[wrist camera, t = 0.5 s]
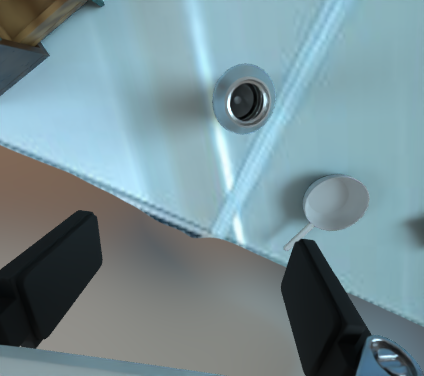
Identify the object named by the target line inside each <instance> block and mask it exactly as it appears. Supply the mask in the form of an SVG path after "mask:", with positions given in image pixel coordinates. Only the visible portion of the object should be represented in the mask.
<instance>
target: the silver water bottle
mask: <svg viewBox="0 0 424 376" xmlns="http://www.w3.org/2000/svg"><path fill="white" fill-rule="evenodd" d="M275 101H276V93H275V87H274V84H273V82H272V80H271V78H270V77H269V75H268V74H267V73H266V72H265V71H264V70H263V69H261V68H260V67H258V66H256V65H253V64H239V65H236V66H234V67H231V68H230V69H228V70H227V71H226V72H225V73H224V74H223V75H222V76H221V77H220V79H219V80H218V82H217V84H216V86H215V88H214V92H213V100H212V103H213V110H214V114H215V116H216V118H217V120H218V122H219V123H220V124H221V125H222V126H223V127H224V128H225V129H226V130H228V131H230V132H232V133H235V134H242V135H243V134H250V133H253V132H255V131H257V130H259V129H260V128H261V127H262V126H264V125H265V124H266V122H267V121H268V120H269V118H270V117H271V115H272V113H273V110H274V107H275Z"/></svg>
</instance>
